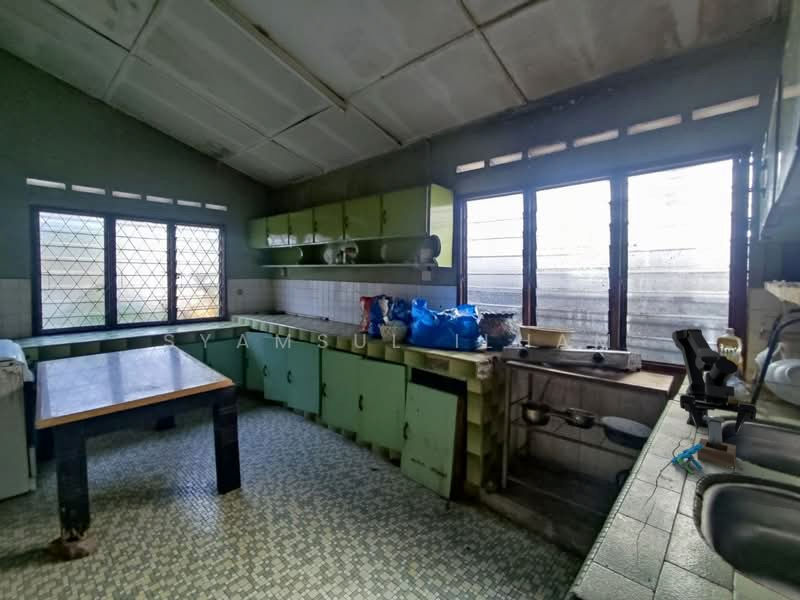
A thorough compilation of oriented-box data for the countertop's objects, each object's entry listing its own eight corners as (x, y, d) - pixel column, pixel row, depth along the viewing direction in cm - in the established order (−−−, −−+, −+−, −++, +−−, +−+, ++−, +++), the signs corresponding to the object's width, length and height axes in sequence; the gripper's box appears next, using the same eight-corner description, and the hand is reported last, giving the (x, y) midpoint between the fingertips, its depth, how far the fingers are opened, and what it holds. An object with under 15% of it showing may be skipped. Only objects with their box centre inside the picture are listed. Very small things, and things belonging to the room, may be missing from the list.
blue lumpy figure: (678, 450, 116) (704, 437, 109) (695, 467, 113) (723, 456, 106) (661, 464, 110) (687, 452, 103) (678, 483, 107) (706, 472, 100)
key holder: (700, 449, 119) (700, 437, 118) (735, 458, 113) (735, 445, 112) (697, 459, 113) (697, 446, 112) (733, 468, 107) (734, 455, 106)
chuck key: (704, 453, 116) (702, 413, 115) (725, 457, 113) (724, 416, 112) (703, 457, 114) (702, 417, 113) (725, 461, 110) (724, 420, 109)
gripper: (680, 371, 124) (678, 412, 116) (756, 379, 112) (759, 426, 104) (681, 387, 130) (679, 427, 123) (753, 397, 118) (756, 442, 110)
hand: (716, 430), depth 115 cm, fingers open, 9 cm apart
